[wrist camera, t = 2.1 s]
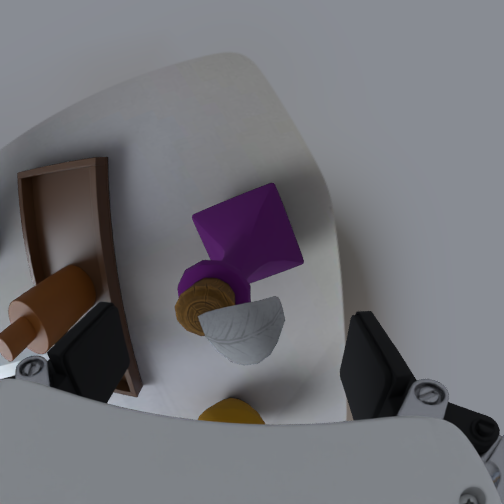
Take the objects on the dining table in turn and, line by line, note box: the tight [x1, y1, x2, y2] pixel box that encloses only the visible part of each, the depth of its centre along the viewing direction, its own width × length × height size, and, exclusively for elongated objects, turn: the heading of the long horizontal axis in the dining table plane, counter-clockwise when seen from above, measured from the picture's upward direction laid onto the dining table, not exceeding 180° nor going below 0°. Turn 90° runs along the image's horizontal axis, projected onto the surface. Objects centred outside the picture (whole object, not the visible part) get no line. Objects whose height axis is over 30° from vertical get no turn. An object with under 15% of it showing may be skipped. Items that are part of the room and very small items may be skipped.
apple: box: [198, 398, 265, 424], centre depth 30 cm, size 9×9×9 cm
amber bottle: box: [0, 265, 96, 361], centre depth 23 cm, size 6×6×14 cm
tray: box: [17, 157, 143, 397], centre depth 29 cm, size 30×13×2 cm, turn 179°
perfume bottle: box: [175, 183, 304, 365], centre depth 19 cm, size 8×8×18 cm
